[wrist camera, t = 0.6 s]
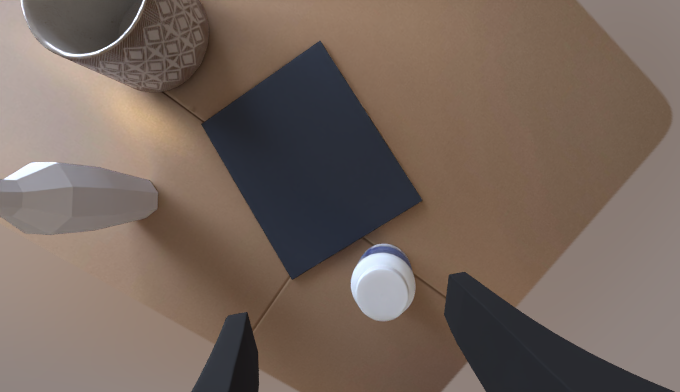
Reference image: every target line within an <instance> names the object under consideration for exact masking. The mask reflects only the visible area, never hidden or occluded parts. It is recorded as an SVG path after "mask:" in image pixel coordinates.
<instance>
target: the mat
mask: <svg viewBox="0 0 680 392" xmlns="http://www.w3.org/2000/svg"><path fill="white" fill-rule="evenodd" d="M201 125H202V126H203V128H204V130H205V132H206V133H207V135H208V137H209V138H210V140H211V142H212V144H213V145H214V147H215V149H216V150H217V152H218V154H219V156H220V157H221V159H222V161H223V162H224V164H225V166H226V168H227V169H228V171H229V173H230V174H231V176H232V178H233V180H234V181H235V183H236V185H237V186H238V188H239V190H240V192H241V193H242V195H243V197H244V198H245V200H246V202H247V203H248V205H249V207H250V209H251V210H252V212H253V214H254V215H255V217H256V219H257V221H258V222H259V224H260V226H261V227H262V229H263V231H264V233H265V234H266V236H267V238H268V239H269V241H270V243H271V245H272V246H273V248H274V250H275V251H276V253H277V255H278V257H279V258H280V260H281V262H282V263H283V265H284V267H285V269H286V270H287V272H288V274H289V275H290V277H291V279H292V280H293V279H294V278H296V277H298V276H299V275H301V274H302V273H304V272H306V271H307V270H309V269H311V268H312V267H314V266H316V265H317V264H319V263H321V262H322V261H324V260H325V259H327V258H329V257H330V256H332V255H334V254H335V253H337V252H339V251H340V250H342V249H344V248H345V247H347V246H349V245H350V244H352V243H353V242H355V241H357V240H358V239H360V238H362V237H363V236H365V235H367V234H368V233H370V232H372V231H373V230H375V229H376V228H378V227H380V226H381V225H383V224H385V223H386V222H388V221H390V220H391V219H393V218H395V217H396V216H398V215H400V214H401V213H403V212H404V211H406V210H408V209H409V208H411V207H413V206H414V205H416V204H418V203H419V202H421V201H422V199H421V197H420V196H419V194H418V193H417V191H416V189H415V188H414V186H413V185H412V183H411V182H410V180H409V179H408V177H407V175H406V174H405V172H404V171H403V169H402V168H401V166H400V165H399V163H398V161H397V160H396V158H395V157H394V155H393V154H392V152H391V151H390V149H389V147H388V146H387V144H386V143H385V141H384V140H383V138H382V136H381V135H380V133H379V132H378V130H377V129H376V127H375V126H374V124H373V122H372V121H371V119H370V118H369V116H368V115H367V113H366V112H365V110H364V108H363V107H362V105H361V104H360V102H359V101H358V99H357V97H356V96H355V94H354V93H353V91H352V90H351V88H350V87H349V85H348V83H347V82H346V80H345V79H344V77H343V76H342V74H341V73H340V71H339V69H338V68H337V66H336V65H335V63H334V62H333V60H332V58H331V57H330V55H329V54H328V52H327V51H326V49H325V48H324V46H323V44H322V43H321V41H319V42H318V43H316V44H315V45H313V46H312V47H310V48H309V49H308V50H306V51H305V52H303V53H302V54H300V55H299V56H298V57H296V58H295V59H293V60H292V61H291V62H289V63H288V64H286V65H285V66H283V67H282V68H281V69H279V70H278V71H276V72H275V73H273V74H272V75H271V76H269V77H268V78H266V79H265V80H264V81H262V82H261V83H259V84H258V85H256V86H255V87H254V88H252V89H251V90H249V91H248V92H246V93H245V94H244V95H242V96H241V97H239V98H238V99H237V100H235V101H234V102H232V103H231V104H229V105H228V106H227V107H225V108H224V109H222V110H221V111H219V112H218V113H217V114H215V115H214V116H212V117H211V118H210V119H208V120H207V121H205V122H204V123H202V124H201Z"/></svg>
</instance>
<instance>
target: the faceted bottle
mask: <svg viewBox="0 0 680 392" xmlns="http://www.w3.org/2000/svg"><path fill="white" fill-rule="evenodd" d="M157 209H158V192H157V191H156V189H155V188H154V186H153V185H152V183H151V182H150V180H147V179H143V178H139V177H135V176H131V175H128V174H124V173H120V172H116V171H112V170H108V169H105V168H101V167H92V166H84V165H75V164H66V163H57V162H32V163H30V164H28V165H27V166H25V167H23V168H22V169H20V170H18V171H17V172H15V173H13V174H12V175H10V176H8V177H7V178H5V179H0V217H2V218H4V219H5V220H6V221H8V222H9V223H11V224H12V225H14V226H15V227H16V228H18V229H19V230H21V231H22V232H24V233H27V234H45V235H54V234H64V233H74V232H84V231H94V230H98V229H103V228H107V227H111V226H115V225H119V224H124V223H128V222H132V221H136V220H140V219H145V218H147V217H148V216H149V215H150V214H152V213H153V212H154V211H155V210H157Z"/></svg>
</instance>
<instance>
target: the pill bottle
mask: <svg viewBox="0 0 680 392" xmlns="http://www.w3.org/2000/svg"><path fill="white" fill-rule="evenodd" d="M351 290H352V294H353V297H354V299H355V301H356V303H357V304H358V306H359V307H360V309H361V310H362V312H363V313H364V314H365V315H367V316H368V317H370V318H372V319H374V320H377V321H390V320H393V319H395V318H397V317H398V316H400V315H401V314H402V313H403V312H404V311H405V310H406V309H407V308H408V307H409V306H410V304H411V303H412V301H413V298H414V295H415V278H414V275H413V272H412V268H411V264H410V261H409V259H408V258H407V256H406V255H405V253H404V252H403V251H402V250H400V249H399V248H397V247H395V246H393V245H389V244H378V245H375V246H373V247H371V248H369V249H368V250H367V251H366V252H365V253H364V254H363V255H362V257H361V258H360V260H359V262H358V264H357V266H356V267H355V269H354V272H353V274H352V279H351Z"/></svg>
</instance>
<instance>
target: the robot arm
mask: <svg viewBox="0 0 680 392" xmlns="http://www.w3.org/2000/svg"><path fill="white" fill-rule="evenodd" d="M444 316H445V318H446V320H447V323H448V325H449V327H450V330H451V332H452V334H453V336H454V338H455V340H456V342H457V344H458V346H459V347H460V349H461V351H462V352H463V354H464V356H465V358H466V359H467V361H468V363H469V364H470V366H471V368H472V369H473V371H474V372H475V374H476V376H477V377H478V379H479V381H480V382H481V384H482V385H483V387H484V389H485V391H486V392H674V391H672V390H669V389H667V388H664V387H662V386H660V385H657V384H655V383H653V382H650V381H648V380H646V379H643V378H641V377H639V376H637V375H634V374H632V373H630V372H628V371H626V370H624V369H622V368H619V367H617V366H615V365H613V364H611V363H609V362H607V361H605V360H603V359H601V358H599V357H597V356H595V355H593V354H591V353H589V352H587V351H585V350H584V349H582V348H580V347H578V346H576V345H574V344H573V343H571V342H569V341H567V340H565V339H564V338H562V337H560V336H559V335H557V334H555V333H553V332H552V331H550V330H549V329H547V328H545V327H544V326H542V325H541V324H539V323H537V322H536V321H534V320H533V319H531V318H530V317H528V316H526V315H525V314H524V313H522V312H521V311H519V310H518V309H516V308H515V307H513V306H512V305H510V304H509V303H508V302H506V301H505V300H503V299H502V298H500V297H499V296H498V295H496V294H495V293H493V292H492V291H491V290H489V289H488V288H487V287H485V286H484V285H482V284H481V283H480V282H478V281H477V280H476V279H474V278H473V277H471V276H470V275H469V274H467V273H466V272H461V273H456V274H450V275H449V279H448V287H447V295H446V303H445V311H444ZM258 388H259V367H258V350H257V346H256V343H255V339H254V335H253V331H252V328H251V324H250V320H249V317H248V313H247V312H244V313H239V314H234V315H229V316H228V317H227V318H226V320H225V322H224V325H223V327H222V330H221V332H220V335H219V337H218V339H217V341H216V344H215V346H214V348H213V350H212V353H211V355H210V357H209V359H208V361H207V363H206V365H205V367H204V369H203V371H202V373H201V375H200V377H199V379H198V381H197V383H196V384H195V386H194V388H193V390H192V392H258Z"/></svg>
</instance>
